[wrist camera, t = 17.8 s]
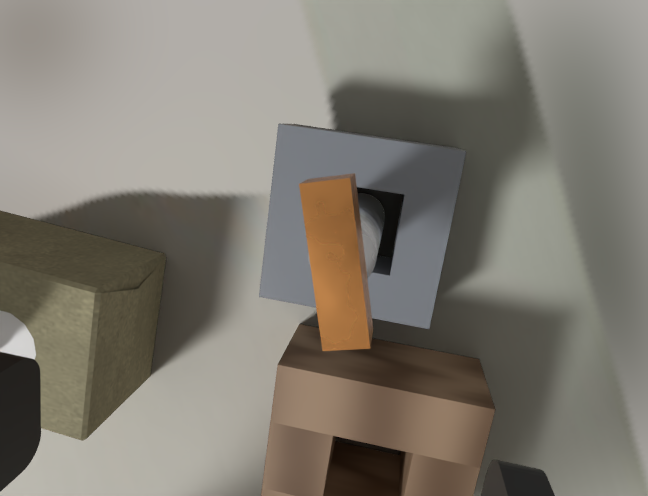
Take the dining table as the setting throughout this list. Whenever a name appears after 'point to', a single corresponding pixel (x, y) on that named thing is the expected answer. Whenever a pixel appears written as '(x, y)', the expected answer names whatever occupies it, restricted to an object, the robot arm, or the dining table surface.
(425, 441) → the block
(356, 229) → the bar
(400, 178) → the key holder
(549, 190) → the dining table surface
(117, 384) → the tissue box
